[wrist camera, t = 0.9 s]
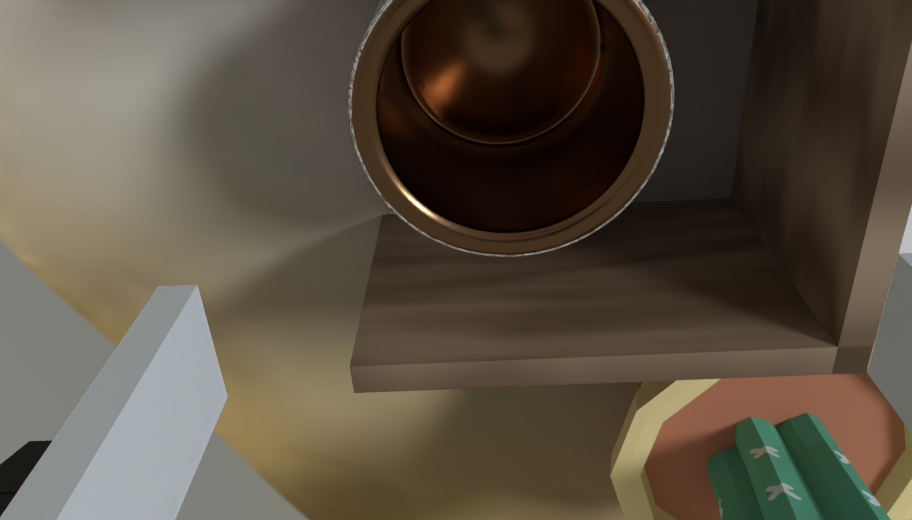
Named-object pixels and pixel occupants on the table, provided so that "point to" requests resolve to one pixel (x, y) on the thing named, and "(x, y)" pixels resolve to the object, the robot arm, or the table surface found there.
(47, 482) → the robot arm
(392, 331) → the wooden cubby shelf
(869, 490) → the potted cactus
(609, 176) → the planter
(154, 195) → the table surface
